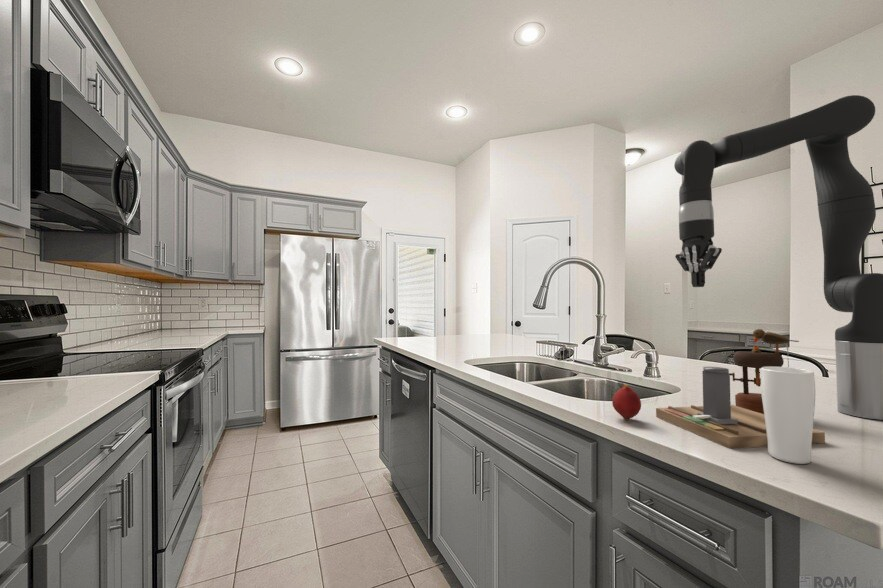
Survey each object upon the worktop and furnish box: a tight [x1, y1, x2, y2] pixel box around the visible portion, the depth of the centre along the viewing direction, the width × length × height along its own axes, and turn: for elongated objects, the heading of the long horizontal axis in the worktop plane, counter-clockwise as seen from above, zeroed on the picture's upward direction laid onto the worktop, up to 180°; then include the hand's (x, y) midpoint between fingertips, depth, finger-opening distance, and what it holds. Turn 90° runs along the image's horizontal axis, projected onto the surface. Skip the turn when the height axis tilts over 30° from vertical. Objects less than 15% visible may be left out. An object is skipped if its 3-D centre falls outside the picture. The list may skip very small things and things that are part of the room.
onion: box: [611, 383, 642, 421], centre depth 84 cm, size 6×6×8 cm
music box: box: [729, 328, 800, 414], centre depth 89 cm, size 15×11×20 cm
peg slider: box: [692, 366, 738, 424], centre depth 76 cm, size 7×5×11 cm
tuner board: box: [655, 404, 826, 449], centre depth 77 cm, size 20×19×3 cm
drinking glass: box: [760, 366, 816, 465], centre depth 62 cm, size 7×7×15 cm
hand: (698, 286), depth 96 cm, fingers closed
